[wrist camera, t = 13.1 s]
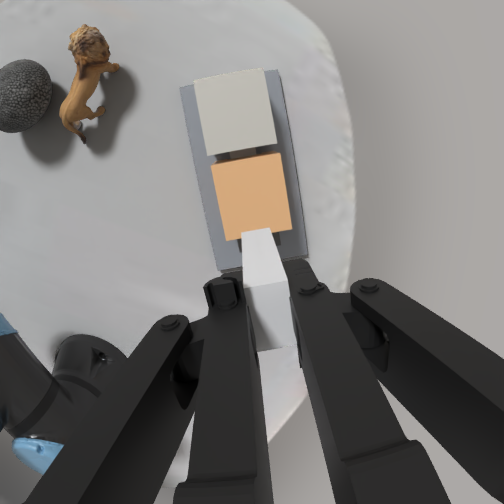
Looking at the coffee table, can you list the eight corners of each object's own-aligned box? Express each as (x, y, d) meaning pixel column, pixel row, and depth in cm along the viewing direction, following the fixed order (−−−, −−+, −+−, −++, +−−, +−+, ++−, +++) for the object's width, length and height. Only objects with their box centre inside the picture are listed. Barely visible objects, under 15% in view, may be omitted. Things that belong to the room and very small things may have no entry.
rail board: (218, 267, 43) (214, 295, 36) (180, 88, 35) (166, 77, 28) (306, 251, 43) (319, 276, 36) (277, 71, 35) (286, 55, 27)
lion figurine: (94, 40, 32) (63, 22, 23) (128, 40, 32) (102, 19, 24) (71, 142, 36) (35, 145, 28) (104, 146, 37) (72, 149, 29)
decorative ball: (59, 131, 36) (17, 134, 26) (9, 131, 35) (-34, 136, 25) (70, 62, 32) (31, 49, 23) (19, 68, 31) (-22, 60, 22)
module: (228, 223, 40) (226, 241, 34) (215, 161, 38) (210, 165, 31) (283, 213, 40) (292, 229, 34) (273, 150, 37) (280, 153, 31)
